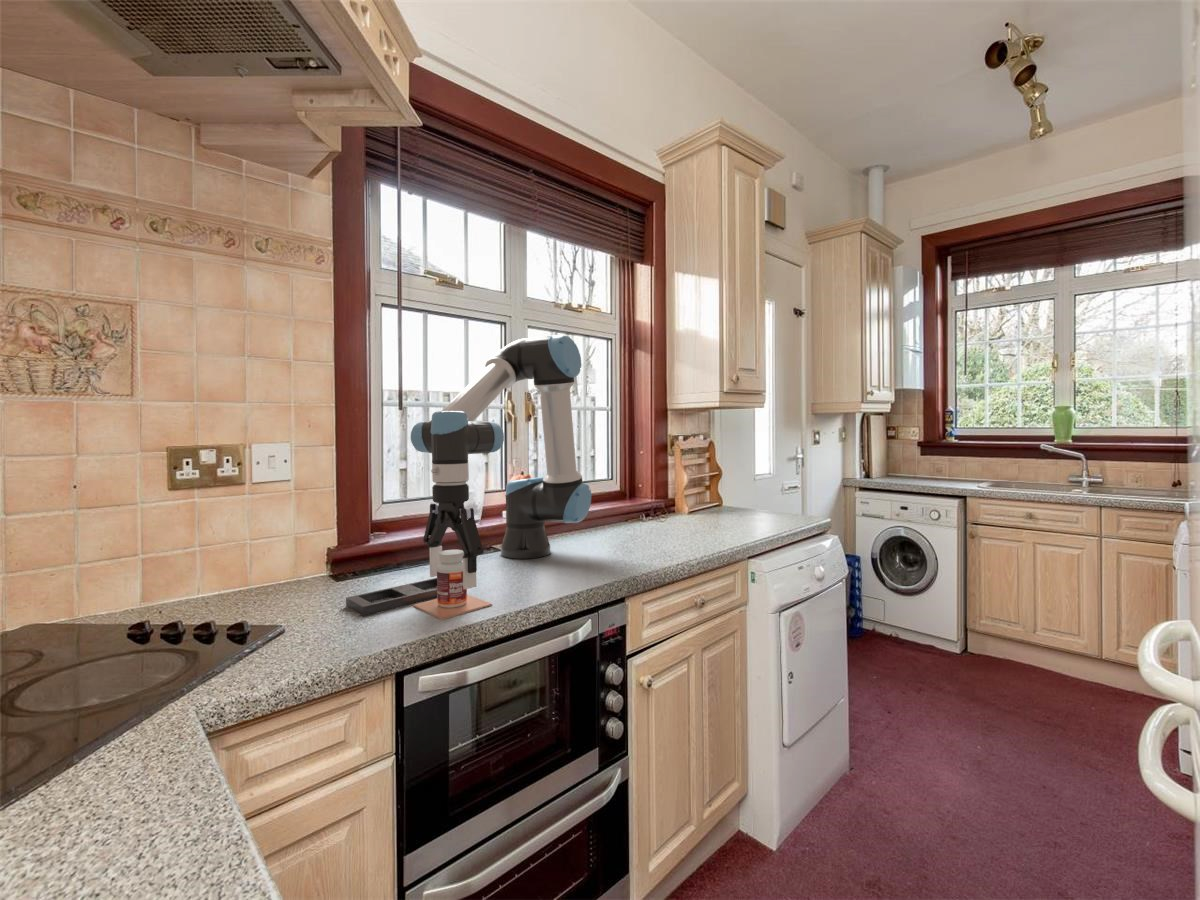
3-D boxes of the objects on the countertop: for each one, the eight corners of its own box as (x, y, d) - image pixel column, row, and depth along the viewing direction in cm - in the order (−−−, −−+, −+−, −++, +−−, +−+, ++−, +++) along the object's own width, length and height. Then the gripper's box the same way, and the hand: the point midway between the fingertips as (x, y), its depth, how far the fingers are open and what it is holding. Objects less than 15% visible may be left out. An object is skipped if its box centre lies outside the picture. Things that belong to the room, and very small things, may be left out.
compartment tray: (446, 583, 134) (445, 575, 134) (465, 590, 128) (465, 582, 128) (346, 606, 117) (345, 597, 117) (363, 616, 111) (363, 606, 110)
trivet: (461, 594, 125) (461, 592, 125) (492, 605, 117) (492, 603, 117) (413, 606, 117) (413, 604, 117) (441, 619, 108) (441, 617, 108)
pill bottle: (452, 610, 113) (451, 556, 112) (431, 605, 116) (430, 553, 115) (472, 602, 118) (472, 550, 118) (452, 597, 121) (451, 547, 121)
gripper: (406, 481, 122) (408, 574, 123) (467, 488, 105) (469, 597, 105) (436, 478, 127) (438, 568, 128) (499, 485, 110) (501, 589, 111)
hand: (452, 581), depth 117 cm, fingers open, 13 cm apart
